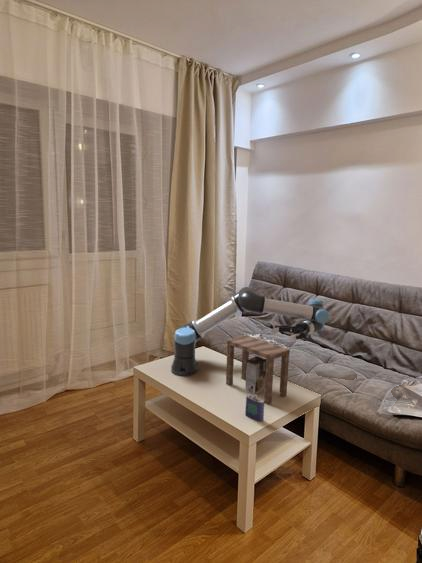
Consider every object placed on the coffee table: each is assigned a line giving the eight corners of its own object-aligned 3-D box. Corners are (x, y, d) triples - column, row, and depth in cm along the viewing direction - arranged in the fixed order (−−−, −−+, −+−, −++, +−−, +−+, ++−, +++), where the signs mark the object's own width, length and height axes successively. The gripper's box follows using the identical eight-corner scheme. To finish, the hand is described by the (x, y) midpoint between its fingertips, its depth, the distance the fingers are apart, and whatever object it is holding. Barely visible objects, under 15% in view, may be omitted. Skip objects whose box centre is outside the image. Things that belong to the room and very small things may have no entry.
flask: (264, 420, 163) (265, 397, 162) (260, 423, 161) (261, 399, 160) (247, 413, 170) (248, 390, 168) (243, 415, 167) (244, 392, 166)
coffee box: (255, 385, 198) (256, 355, 195) (265, 389, 194) (266, 359, 191) (244, 390, 191) (245, 360, 189) (255, 394, 187) (256, 363, 184)
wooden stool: (225, 384, 199) (227, 340, 195) (244, 377, 208) (245, 335, 204) (268, 405, 177) (271, 356, 173) (286, 396, 186) (289, 349, 182)
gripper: (323, 340, 205) (299, 348, 191) (286, 329, 224) (262, 335, 210) (324, 327, 204) (301, 334, 190) (286, 317, 222) (263, 322, 208)
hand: (280, 335), depth 200 cm, fingers open, 13 cm apart
